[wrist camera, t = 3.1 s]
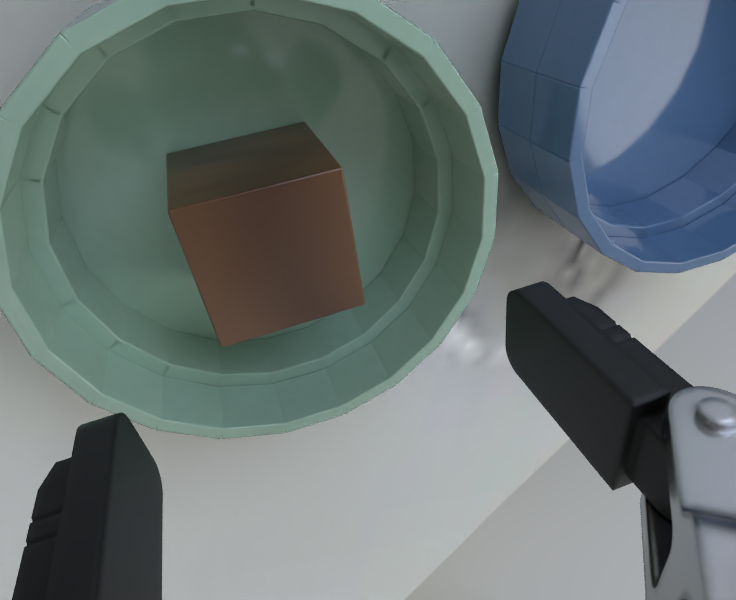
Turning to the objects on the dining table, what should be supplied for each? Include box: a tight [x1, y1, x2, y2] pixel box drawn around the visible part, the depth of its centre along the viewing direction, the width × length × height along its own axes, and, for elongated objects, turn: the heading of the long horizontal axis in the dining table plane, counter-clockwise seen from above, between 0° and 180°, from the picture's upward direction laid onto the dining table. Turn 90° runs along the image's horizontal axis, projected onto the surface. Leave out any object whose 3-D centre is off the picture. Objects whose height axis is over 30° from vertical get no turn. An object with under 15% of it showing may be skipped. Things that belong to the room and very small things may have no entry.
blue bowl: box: [498, 0, 736, 273], centre depth 19 cm, size 14×14×5 cm
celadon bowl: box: [0, 0, 498, 439], centre depth 17 cm, size 14×14×5 cm
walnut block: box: [166, 122, 365, 347], centre depth 17 cm, size 5×5×5 cm
